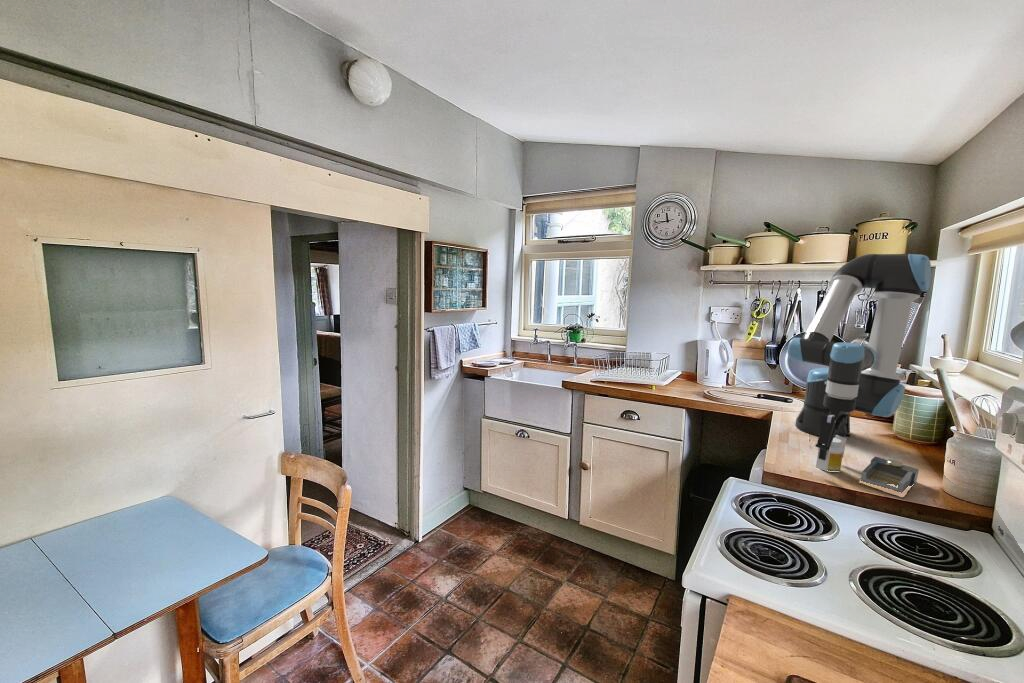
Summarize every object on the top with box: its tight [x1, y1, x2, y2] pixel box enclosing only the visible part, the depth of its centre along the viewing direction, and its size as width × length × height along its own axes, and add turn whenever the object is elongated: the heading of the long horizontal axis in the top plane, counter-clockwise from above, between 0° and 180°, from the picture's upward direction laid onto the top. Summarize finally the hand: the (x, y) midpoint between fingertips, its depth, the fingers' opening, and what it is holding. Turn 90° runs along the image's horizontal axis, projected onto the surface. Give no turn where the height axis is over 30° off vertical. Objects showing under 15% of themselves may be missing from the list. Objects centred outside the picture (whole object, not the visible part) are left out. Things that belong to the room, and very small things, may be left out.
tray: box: [859, 456, 920, 493], centre depth 124 cm, size 14×10×5 cm
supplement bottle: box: [823, 437, 844, 472], centre depth 132 cm, size 5×5×10 cm
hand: (829, 462), depth 132 cm, fingers open, 13 cm apart
